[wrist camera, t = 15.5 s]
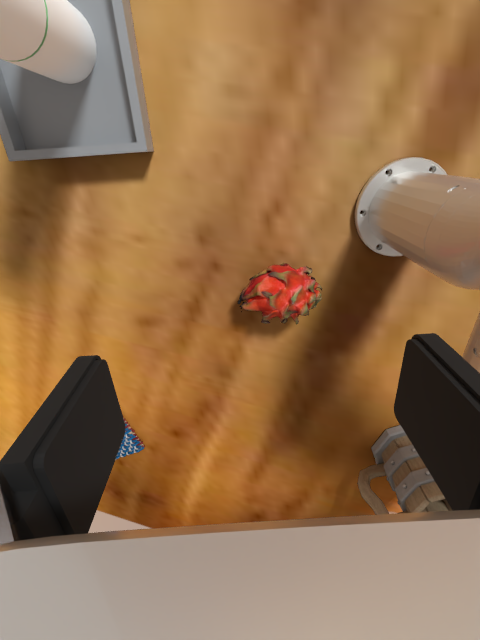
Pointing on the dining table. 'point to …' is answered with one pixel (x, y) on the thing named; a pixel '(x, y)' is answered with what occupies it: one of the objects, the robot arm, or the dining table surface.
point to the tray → (80, 97)
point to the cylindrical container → (47, 39)
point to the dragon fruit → (281, 293)
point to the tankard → (401, 476)
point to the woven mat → (129, 442)
